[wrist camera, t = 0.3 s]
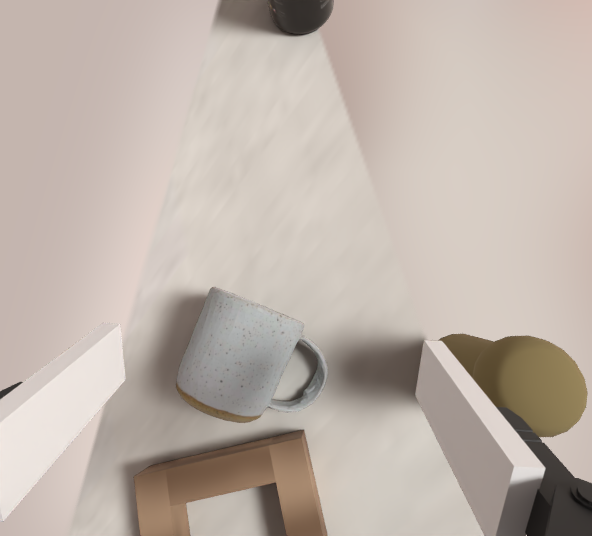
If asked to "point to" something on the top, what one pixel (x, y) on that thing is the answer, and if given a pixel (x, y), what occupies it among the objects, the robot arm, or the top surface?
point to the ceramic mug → (242, 359)
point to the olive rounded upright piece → (525, 379)
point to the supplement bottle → (300, 14)
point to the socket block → (232, 484)
